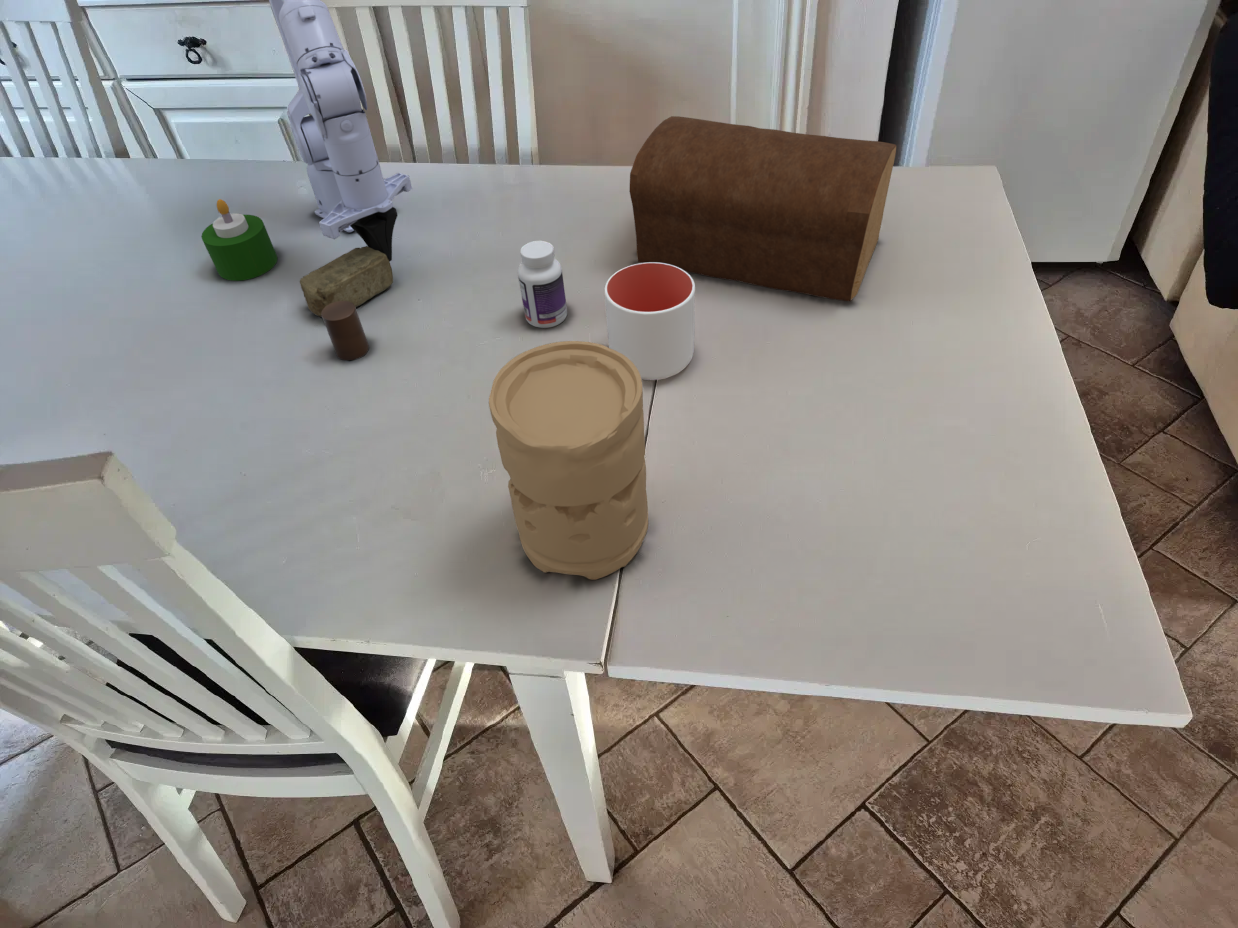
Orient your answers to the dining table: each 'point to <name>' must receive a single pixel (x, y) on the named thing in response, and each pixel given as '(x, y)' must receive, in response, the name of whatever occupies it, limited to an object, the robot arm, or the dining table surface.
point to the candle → (239, 245)
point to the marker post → (345, 330)
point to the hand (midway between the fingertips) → (384, 260)
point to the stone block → (347, 279)
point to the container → (574, 455)
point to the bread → (760, 204)
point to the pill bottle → (542, 285)
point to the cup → (652, 317)
